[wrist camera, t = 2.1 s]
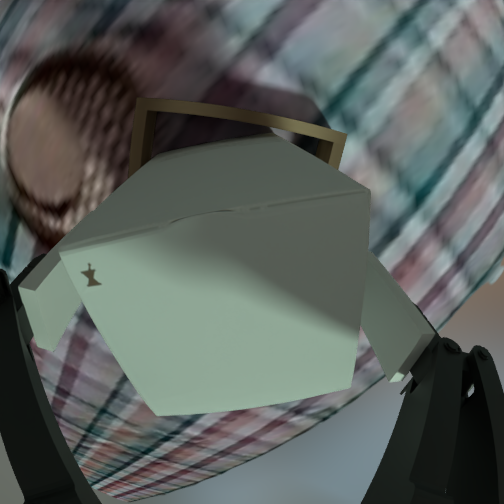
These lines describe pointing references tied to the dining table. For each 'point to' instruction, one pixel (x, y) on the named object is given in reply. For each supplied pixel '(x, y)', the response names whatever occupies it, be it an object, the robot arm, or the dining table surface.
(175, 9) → the dining table surface
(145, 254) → the supplement box
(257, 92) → the dining table surface
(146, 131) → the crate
